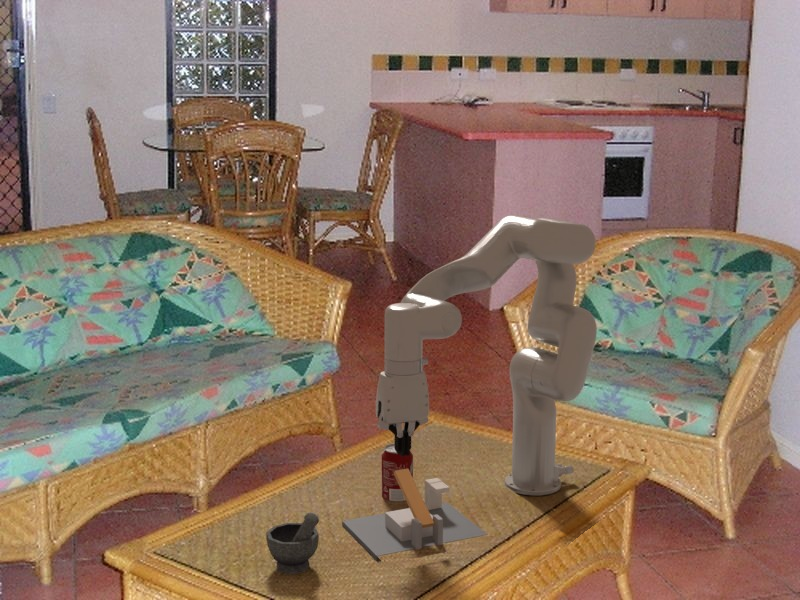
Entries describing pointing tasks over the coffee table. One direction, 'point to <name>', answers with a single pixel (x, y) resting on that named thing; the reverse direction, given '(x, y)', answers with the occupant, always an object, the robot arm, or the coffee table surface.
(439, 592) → the coffee table surface
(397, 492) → the soda can
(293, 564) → the mortar and pestle
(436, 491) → the block
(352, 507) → the coffee table surface
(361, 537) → the board
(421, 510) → the strap
